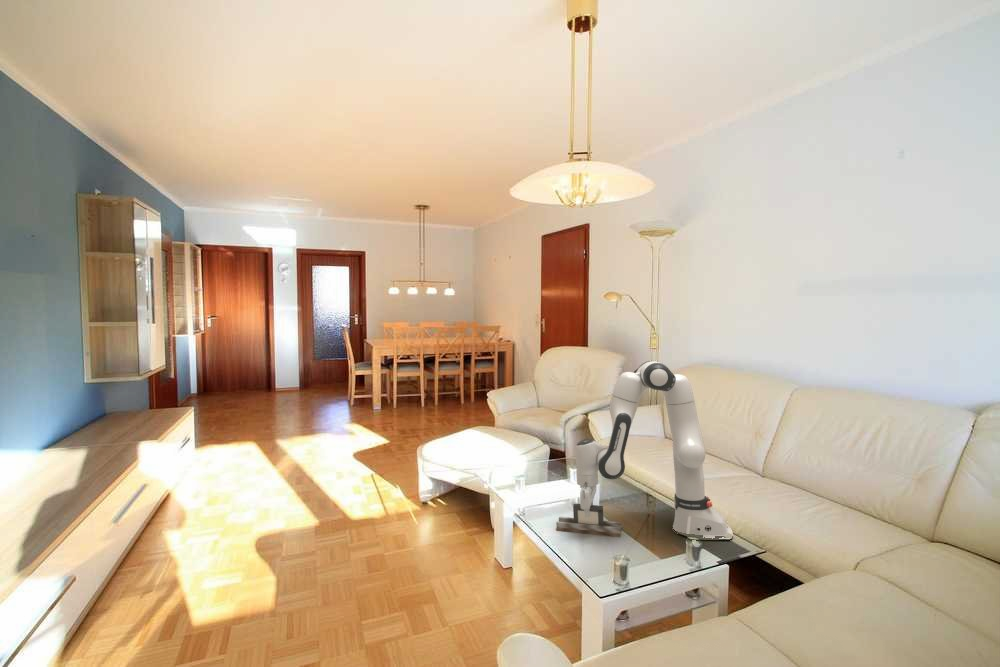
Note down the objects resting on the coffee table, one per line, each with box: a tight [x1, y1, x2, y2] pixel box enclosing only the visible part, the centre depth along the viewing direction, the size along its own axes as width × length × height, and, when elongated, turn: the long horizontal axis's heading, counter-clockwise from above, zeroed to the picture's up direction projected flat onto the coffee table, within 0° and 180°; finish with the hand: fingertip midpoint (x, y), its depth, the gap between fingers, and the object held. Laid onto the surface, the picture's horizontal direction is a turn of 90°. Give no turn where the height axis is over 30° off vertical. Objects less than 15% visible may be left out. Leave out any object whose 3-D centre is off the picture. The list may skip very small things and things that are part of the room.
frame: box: [572, 503, 605, 526], centre depth 201 cm, size 12×2×9 cm, turn 71°
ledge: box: [555, 516, 623, 538], centre depth 201 cm, size 26×8×3 cm, turn 71°
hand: (589, 512), depth 201 cm, fingers open, 8 cm apart
